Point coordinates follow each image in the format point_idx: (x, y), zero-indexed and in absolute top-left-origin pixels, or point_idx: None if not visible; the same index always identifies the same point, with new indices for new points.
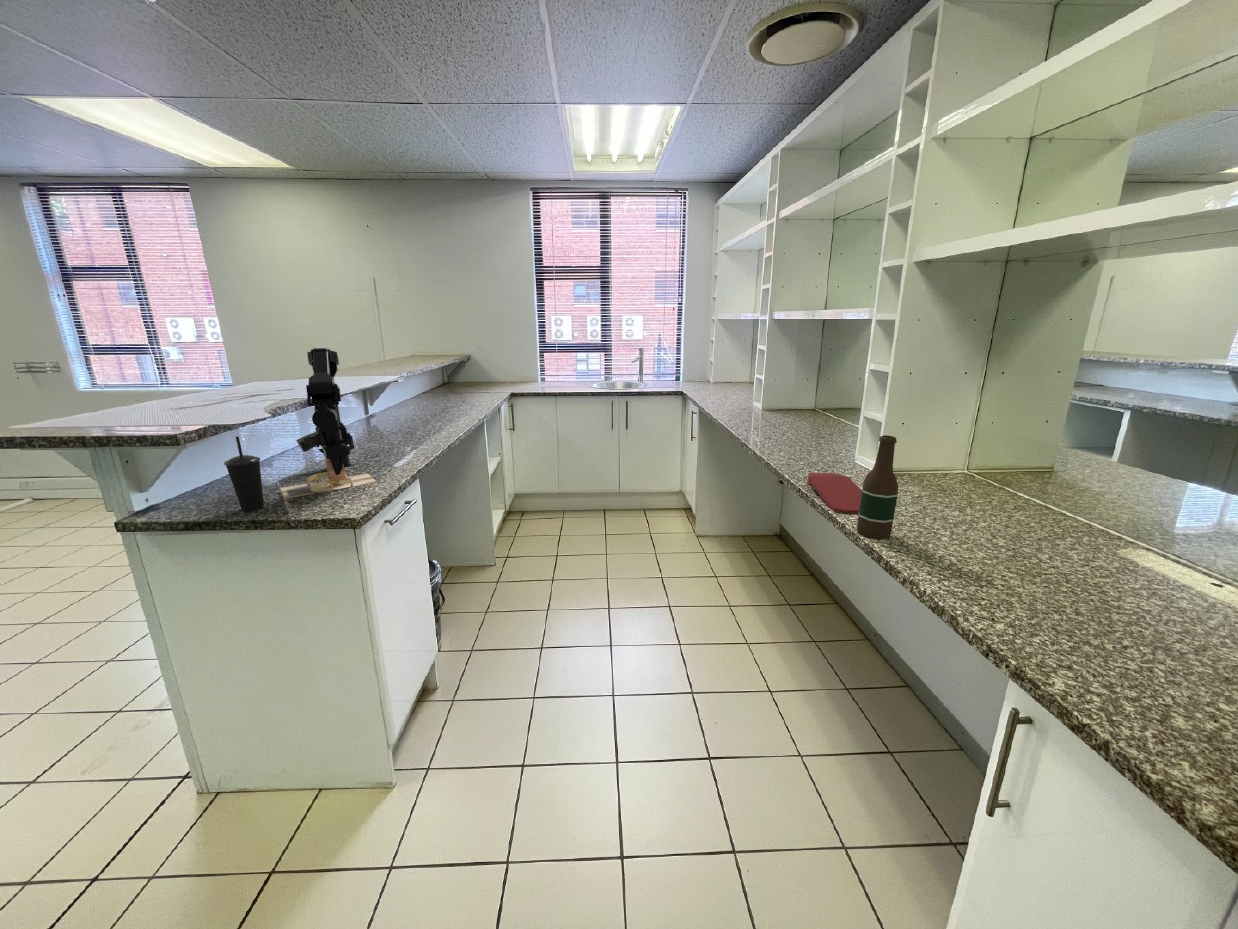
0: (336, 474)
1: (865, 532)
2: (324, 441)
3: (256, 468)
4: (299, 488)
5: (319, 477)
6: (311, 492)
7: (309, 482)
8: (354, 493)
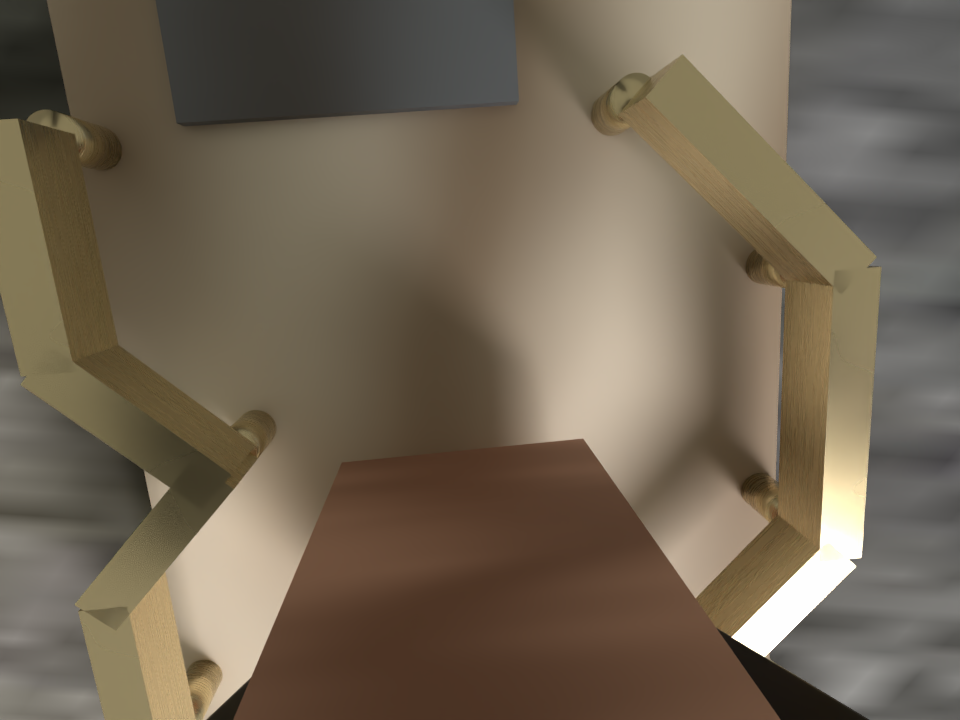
0: None
1: None
2: None
3: None
4: None
5: (791, 305)
6: (158, 115)
7: (618, 118)
8: (8, 647)
